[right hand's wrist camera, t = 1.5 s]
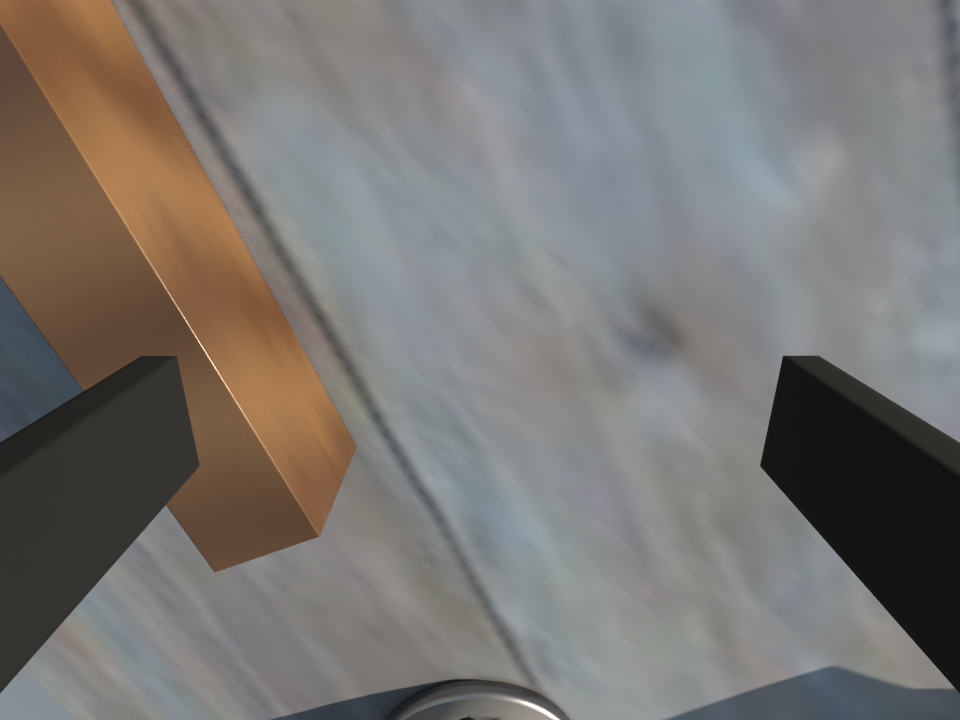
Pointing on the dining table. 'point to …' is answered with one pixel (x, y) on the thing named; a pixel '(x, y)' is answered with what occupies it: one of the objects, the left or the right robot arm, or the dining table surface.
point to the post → (155, 276)
